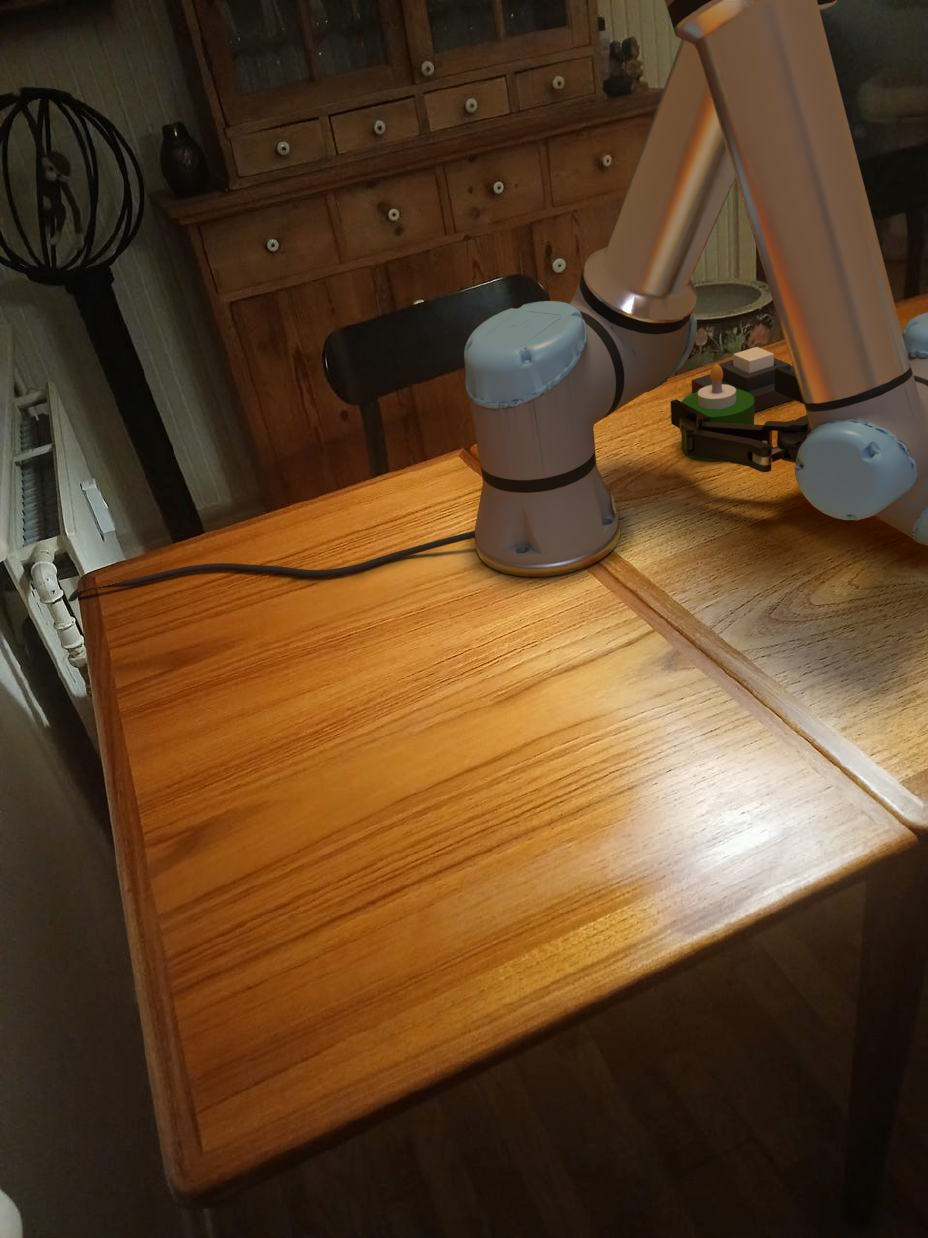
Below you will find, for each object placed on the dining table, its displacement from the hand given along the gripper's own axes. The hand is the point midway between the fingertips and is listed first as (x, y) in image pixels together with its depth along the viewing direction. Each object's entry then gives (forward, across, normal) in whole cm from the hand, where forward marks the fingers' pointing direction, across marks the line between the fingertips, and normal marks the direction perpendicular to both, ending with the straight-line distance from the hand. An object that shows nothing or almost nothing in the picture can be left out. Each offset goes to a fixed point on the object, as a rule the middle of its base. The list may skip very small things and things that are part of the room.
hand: (726, 394), depth 107 cm
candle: (+2, 0, -7) cm, 7 cm away
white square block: (+12, +12, -3) cm, 17 cm away
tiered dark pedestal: (+12, +12, -7) cm, 19 cm away
